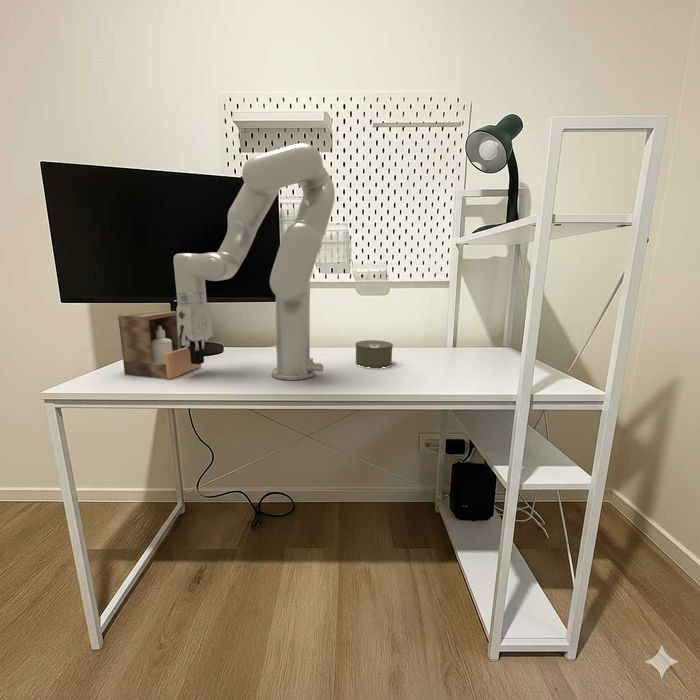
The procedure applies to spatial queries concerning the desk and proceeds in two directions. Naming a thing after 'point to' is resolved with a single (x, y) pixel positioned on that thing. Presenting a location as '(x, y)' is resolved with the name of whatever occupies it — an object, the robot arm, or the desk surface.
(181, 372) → the drawer
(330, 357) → the desk surface
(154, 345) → the eye dropper bottle
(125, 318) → the cabinet
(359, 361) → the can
